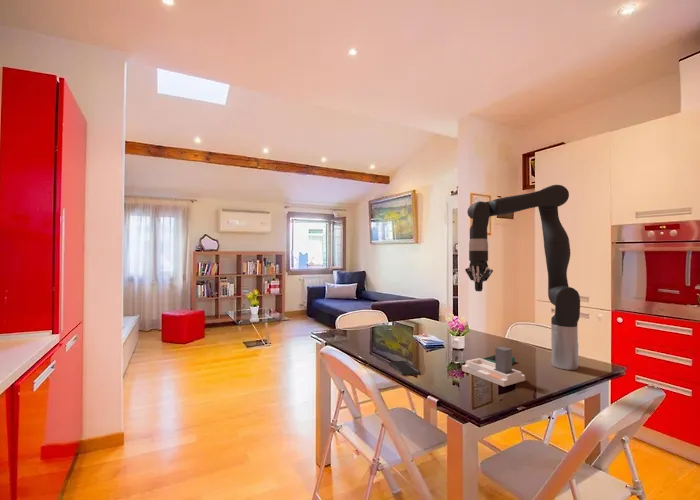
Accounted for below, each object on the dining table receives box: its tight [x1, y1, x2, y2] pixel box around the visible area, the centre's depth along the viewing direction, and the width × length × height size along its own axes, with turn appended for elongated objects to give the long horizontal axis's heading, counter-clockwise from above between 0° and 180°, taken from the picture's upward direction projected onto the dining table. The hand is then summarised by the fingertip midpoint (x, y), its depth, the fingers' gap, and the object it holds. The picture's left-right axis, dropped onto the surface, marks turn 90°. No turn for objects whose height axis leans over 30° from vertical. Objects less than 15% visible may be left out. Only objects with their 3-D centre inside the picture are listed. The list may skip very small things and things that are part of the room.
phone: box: [388, 360, 421, 377], centre depth 138 cm, size 8×1×15 cm
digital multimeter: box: [483, 354, 516, 364], centre depth 146 cm, size 7×15×3 cm, turn 127°
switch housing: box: [461, 357, 526, 387], centre depth 131 cm, size 12×19×4 cm, turn 29°
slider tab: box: [494, 346, 514, 374], centre depth 126 cm, size 5×5×9 cm
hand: (478, 291), depth 143 cm, fingers closed
